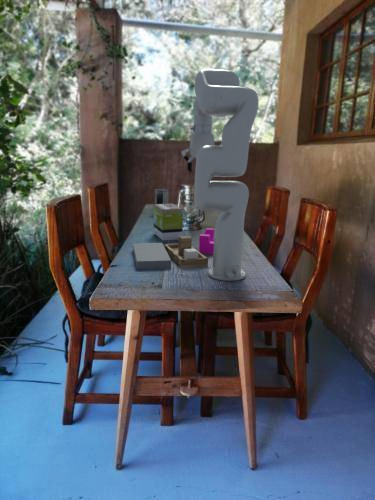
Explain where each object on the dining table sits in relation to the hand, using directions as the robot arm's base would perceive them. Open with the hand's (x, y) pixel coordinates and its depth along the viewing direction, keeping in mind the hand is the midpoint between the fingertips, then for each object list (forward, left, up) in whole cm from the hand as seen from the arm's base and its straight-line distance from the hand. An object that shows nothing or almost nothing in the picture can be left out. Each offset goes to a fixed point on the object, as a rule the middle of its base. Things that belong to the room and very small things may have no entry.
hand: (201, 172), depth 171 cm
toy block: (-9, -3, -32) cm, 33 cm away
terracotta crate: (-15, +44, -33) cm, 57 cm away
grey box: (-31, +10, -30) cm, 44 cm away
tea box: (+15, +12, -32) cm, 37 cm away
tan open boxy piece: (-23, +10, -32) cm, 40 cm away
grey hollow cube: (+78, +4, -32) cm, 84 cm away
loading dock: (-22, +24, -31) cm, 45 cm away
